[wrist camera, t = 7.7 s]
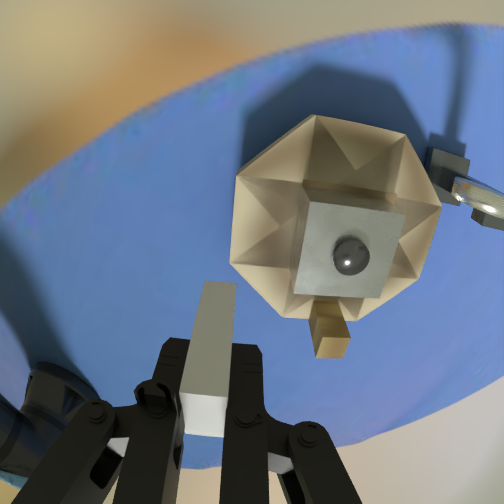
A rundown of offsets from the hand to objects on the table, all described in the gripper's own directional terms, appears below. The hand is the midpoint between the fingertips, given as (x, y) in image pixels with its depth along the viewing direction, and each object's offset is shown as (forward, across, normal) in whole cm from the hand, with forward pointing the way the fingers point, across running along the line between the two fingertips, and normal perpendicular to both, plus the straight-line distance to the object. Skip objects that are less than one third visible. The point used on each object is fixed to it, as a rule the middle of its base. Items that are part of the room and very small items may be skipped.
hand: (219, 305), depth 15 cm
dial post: (+14, +17, +6) cm, 23 cm away
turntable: (+12, +9, 0) cm, 15 cm away
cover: (+10, +8, 0) cm, 13 cm away
